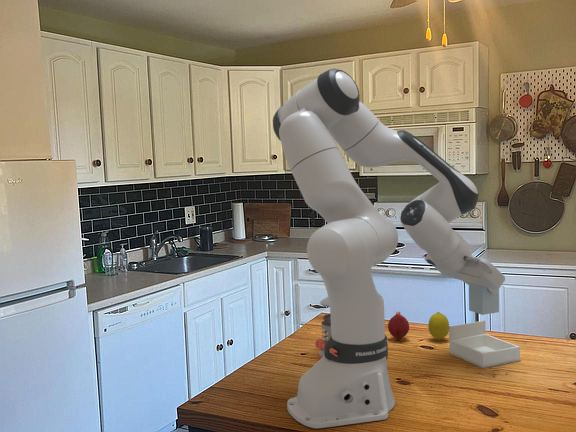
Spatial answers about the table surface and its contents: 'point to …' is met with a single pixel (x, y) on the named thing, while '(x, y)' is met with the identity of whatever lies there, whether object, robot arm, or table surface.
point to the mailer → (480, 346)
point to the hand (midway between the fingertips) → (485, 289)
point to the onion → (398, 326)
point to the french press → (326, 323)
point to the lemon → (438, 326)
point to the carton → (482, 300)
